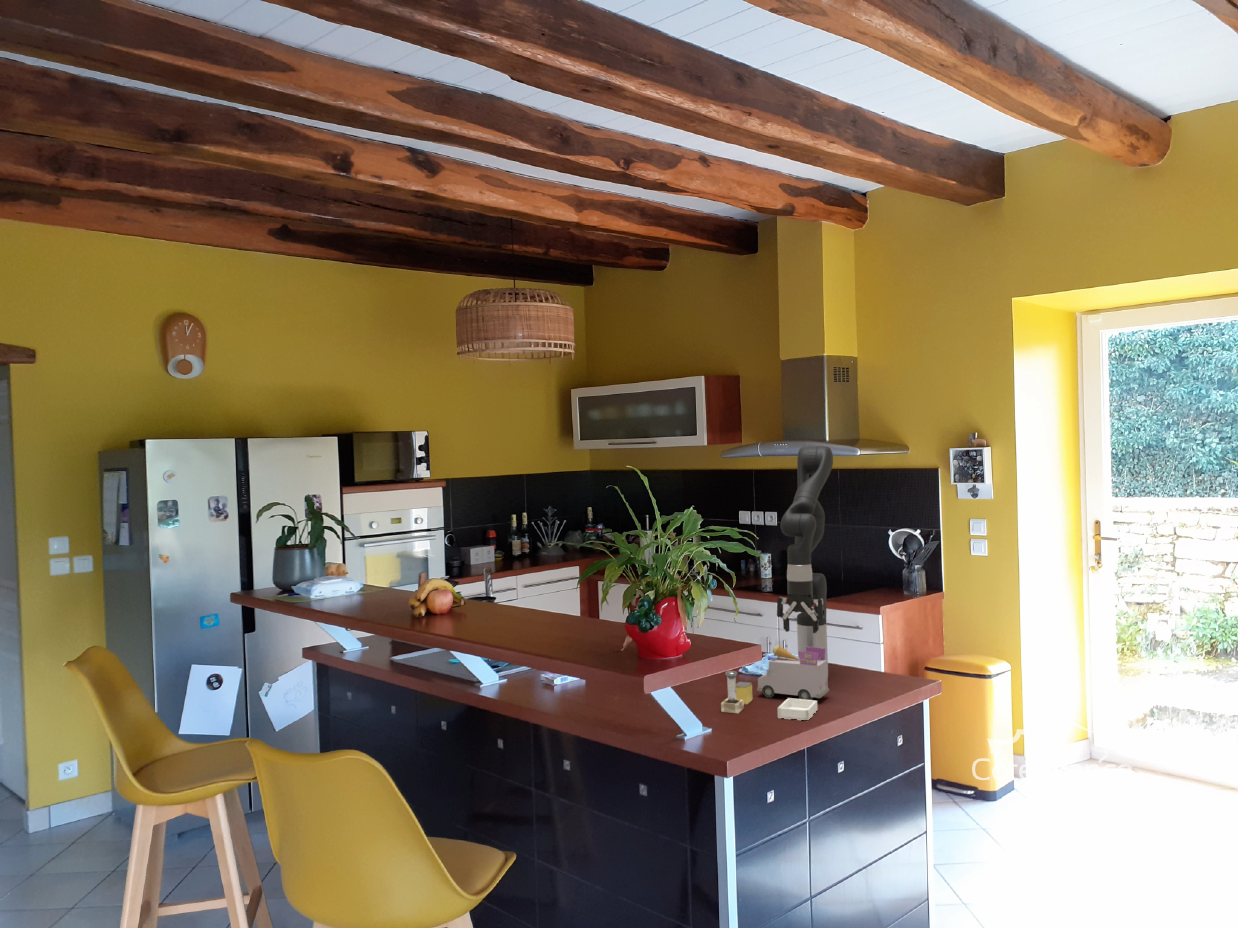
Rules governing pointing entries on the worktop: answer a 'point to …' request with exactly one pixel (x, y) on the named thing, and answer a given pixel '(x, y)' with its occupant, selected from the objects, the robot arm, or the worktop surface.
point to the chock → (744, 691)
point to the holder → (732, 706)
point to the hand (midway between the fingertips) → (801, 631)
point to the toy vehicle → (796, 674)
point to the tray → (797, 709)
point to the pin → (731, 686)
